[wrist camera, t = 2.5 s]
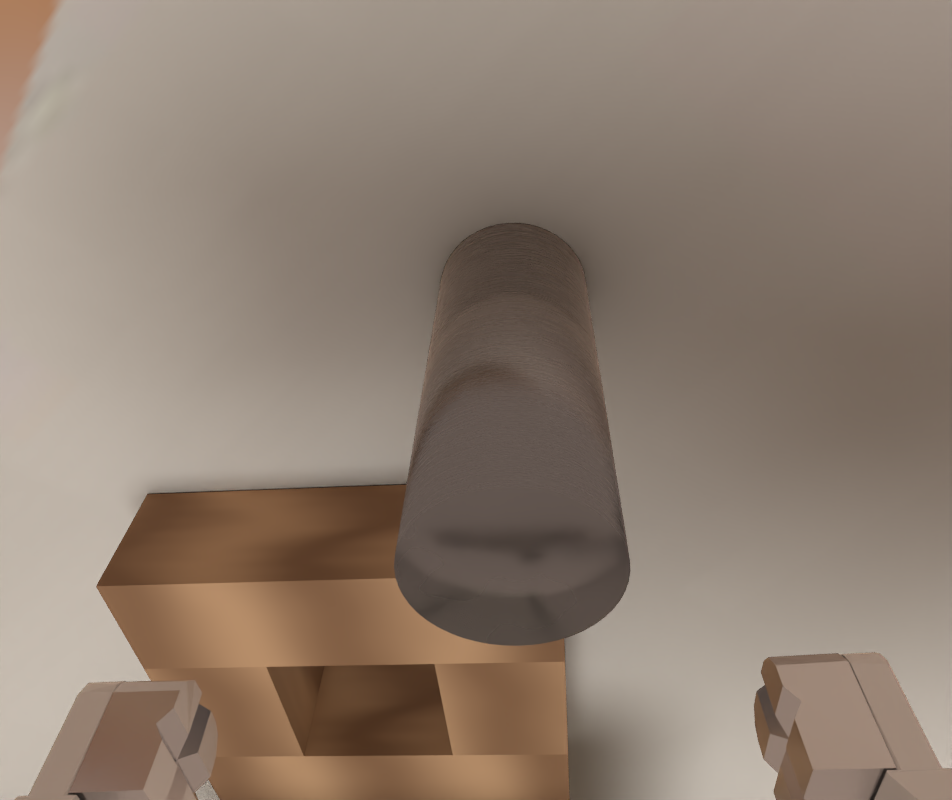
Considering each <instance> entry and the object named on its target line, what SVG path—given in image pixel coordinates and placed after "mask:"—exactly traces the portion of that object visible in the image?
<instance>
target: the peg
mask: <svg viewBox="0 0 952 800" xmlns="http://www.w3.org/2000/svg"><path fill="white" fill-rule="evenodd" d="M394 571H395V578H396V581H397V584H398V587H399V589H400V591H401V593H402V594H403V596H404V598H405V599H406V600H407V602H408V603H409V604H410V606H411V607H412V608H413V609H414V610H415V611H416V612H417V613H418V614H420V615H421V616H422V617H423V618H425V619H426V620H427V621H429V622H430V623H432V624H434V625H435V626H437V627H438V628H440V629H442V630H445V631H447V632H449V633H451V634H454V635H456V636H459V637H462V638H465V639H469V640H472V641H476V642H481V643H487V644H494V645H504V646H523V645H535V644H542V643H548V642H552V641H557V640H560V639H563V638H566V637H570V636H572V635H575V634H577V633H579V632H582V631H584V630H586V629H587V628H589V627H591V626H593V625H594V624H596V623H597V622H599V621H600V620H601V619H603V618H604V617H605V616H606V615H607V614H608V613H609V612H611V611H612V610H613V609H614V607H615V606H616V605H617V604H618V602H619V601H620V599H621V598H622V596H623V594H624V592H625V590H626V587H627V585H628V582H629V576H630V559H629V553H628V546H627V540H626V534H625V527H624V521H623V515H622V508H621V502H620V496H619V489H618V483H617V476H616V470H615V464H614V457H613V451H612V445H611V438H610V432H609V426H608V419H607V413H606V407H605V400H604V394H603V388H602V381H601V375H600V369H599V362H598V356H597V350H596V343H595V337H594V331H593V324H592V318H591V312H590V305H589V299H588V293H587V286H586V280H585V275H584V271H583V268H582V265H581V263H580V261H579V259H578V257H577V256H576V254H575V253H574V251H573V250H572V249H571V248H570V247H569V246H568V245H567V244H566V243H565V242H564V241H563V240H562V239H560V238H559V237H558V236H556V235H555V234H553V233H551V232H549V231H547V230H545V229H542V228H540V227H537V226H533V225H529V224H521V223H506V224H498V225H494V226H491V227H487V228H485V229H482V230H480V231H478V232H476V233H474V234H472V235H471V236H469V237H468V238H467V239H465V240H464V241H463V242H462V243H461V244H460V245H459V246H458V247H456V249H455V250H454V251H453V253H452V254H451V255H450V257H449V259H448V260H447V262H446V265H445V267H444V270H443V273H442V277H441V282H440V288H439V294H438V300H437V306H436V312H435V318H434V324H433V330H432V336H431V342H430V348H429V354H428V360H427V366H426V372H425V378H424V384H423V390H422V396H421V402H420V408H419V414H418V420H417V426H416V432H415V438H414V444H413V450H412V456H411V462H410V468H409V474H408V480H407V485H406V491H405V497H404V503H403V509H402V515H401V521H400V527H399V533H398V539H397V545H396V551H395V558H394Z"/></svg>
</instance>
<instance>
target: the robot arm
mask: <svg viewBox="0 0 952 800" xmlns="http://www.w3.org/2000/svg"><path fill="white" fill-rule="evenodd" d="M761 674H762V677H763V680H764V683H765V685H764V686H763V687H762V688H760V689H759V690H758V691H757V692H756V698H755V704H754V713H755V727H756V732H757V737H758V742H759V745H760V748H761V752H762V755H763V759H764V760H765V761H766V762H767V763H768V764H769V765H770V766H771V767H772V768H773V769H774V770H775V771H777V772H778V777H777V781H776V784H775V788H774V795H775V798H776V800H952V768H942V767H941V765H940V763H939V761H938V759H937V757H936V755H935V754H934V752H933V750H932V748H931V746H930V744H929V742H928V740H927V738H926V736H925V734H924V732H923V730H922V728H921V726H920V724H919V722H918V720H917V718H916V716H915V714H914V712H913V710H912V708H911V706H910V704H909V702H908V700H907V698H906V696H905V694H904V692H903V690H902V688H901V686H900V684H899V682H898V680H897V678H896V676H895V674H894V672H893V670H892V668H891V666H890V664H889V662H888V661H887V660H886V659H885V658H884V657H883V656H882V655H881V654H880V653H875V652H871V653H853V654H838V653H832V654H814V655H796V656H778V657H768V658H767V659H766V660H765V661H764V662H763V666H762V670H761ZM201 695H202V692H201V690H200V688H199V686H198V685H197V683H196V681H195V680H171V681H137V682H126V681H120V682H97V683H88V684H87V685H86V686H85V687H84V688H83V690H82V691H81V692H80V693H79V694H78V695H77V697H76V699H75V701H74V703H73V706H72V708H71V710H70V712H69V714H68V716H67V718H66V720H65V722H64V724H63V726H62V728H61V730H60V732H59V734H58V736H57V738H56V740H55V742H54V744H53V746H52V748H51V750H50V752H49V754H48V757H47V759H46V761H45V763H44V765H43V767H42V769H41V771H40V773H39V775H38V777H37V779H36V781H35V783H34V785H33V787H32V789H31V791H30V793H29V795H28V796H18V797H17V798H16V799H15V800H198V799H197V796H196V793H195V792H196V791H197V790H198V789H199V788H200V787H201V786H202V785H203V784H204V783H205V782H206V781H207V780H208V778H209V777H210V776H211V773H212V769H213V765H214V762H215V758H216V751H217V740H218V732H217V726H216V721H215V718H214V716H213V714H212V712H211V711H210V710H209V709H207V708H205V707H204V706H202V705H200V704H199V701H200V698H201Z"/></svg>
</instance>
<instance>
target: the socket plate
mask: <svg viewBox="0 0 952 800" xmlns="http://www.w3.org/2000/svg"><path fill="white" fill-rule="evenodd" d="M405 491H406V485H382V486H356V487H329V488H303V489H276V490H250V491H223V492H197V493H170V494H147V496H146V498H145V500H144V501H143V503H142V505H141V507H140V509H139V510H138V512H137V514H136V516H135V518H134V519H133V521H132V523H131V525H130V527H129V528H128V530H127V532H126V534H125V535H124V537H123V539H122V541H121V543H120V544H119V546H118V548H117V550H116V552H115V553H114V555H113V557H112V559H111V561H110V562H109V564H108V566H107V568H106V570H105V571H104V573H103V575H102V577H101V579H100V580H99V582H98V584H97V586H96V587H97V589H98V590H99V592H100V594H101V596H102V597H103V599H104V601H105V602H106V604H107V606H108V608H109V609H110V611H111V613H112V614H113V616H114V618H115V620H116V621H117V623H118V625H119V627H120V628H121V630H122V632H123V633H124V635H125V637H126V639H127V640H128V642H129V644H130V645H131V647H132V649H133V651H134V652H135V654H136V656H137V657H138V659H139V661H140V663H141V664H142V666H143V668H144V669H145V671H146V673H147V675H148V676H149V678H150V680H151V681H171V680H195V681H196V683H197V685H198V686H199V688H200V690H201V692H202V695H201V698H200V701H199V704H200V705H202V706H204V707H205V708H207V709H209V710H210V711H211V712H212V714H213V716H214V718H215V721H216V726H217V732H218V740H217V751H216V758H215V762H214V765H213V769H212V773H211V776H210V777H209V778H208V780H209V781H210V783H211V785H212V786H213V788H214V790H215V792H216V793H217V795H218V797H219V798H220V800H570V799H569V769H568V739H567V708H566V678H565V647H564V638H563V639H560V640H557V641H552V642H548V643H542V644H535V645H523V646H504V645H494V644H487V643H481V642H476V641H472V640H469V639H465V638H462V637H459V636H456V635H454V634H451V633H449V632H447V631H445V630H442V629H440V628H438V627H437V626H435V625H434V624H432V623H430V622H429V621H427V620H426V619H425V618H423V617H422V616H421V615H420V614H418V613H417V612H416V611H415V610H414V609H413V608H412V607H411V606H410V604H409V603H408V602H407V600H406V599H405V598H404V596H403V594H402V593H401V591H400V589H399V587H398V584H397V581H396V578H395V571H394V558H395V551H396V545H397V539H398V533H399V527H400V521H401V515H402V509H403V503H404V497H405Z"/></svg>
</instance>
